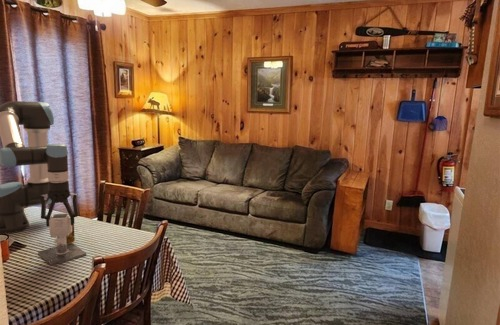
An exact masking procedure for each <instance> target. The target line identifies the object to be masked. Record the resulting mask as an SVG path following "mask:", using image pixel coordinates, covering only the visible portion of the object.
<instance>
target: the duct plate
mask: <svg viewBox="0 0 500 325" xmlns="http://www.w3.org/2000/svg"><path fill="white" fill-rule="evenodd" d="M56 239H57V246H56V247H51V248H47V249H44V250H38V252H37V255H39V256H40V258H42V259H43V260H44V261H45V262H46V263H47V264H48V265H49V266H51V267H52V266H54V265H59V264H61V263H66V262H69V261H71V260H74V259H78V258H82V257H85V256H87V253H86V252H85V251H84V250H83V249H81V248H80V247H78V245H76V244H75V243H70V244H67V243H66V236H63V237H56Z"/></svg>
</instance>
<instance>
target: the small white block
mask: <svg viewBox="0 0 500 325" xmlns="http://www.w3.org/2000/svg"><path fill="white" fill-rule="evenodd" d="M69 217H70V216H69V214H68V212H67V213H65V212H64V213H52V214H51V217H50V230H49V235H50V238H57V237H63V236H69V234H70V233H69Z"/></svg>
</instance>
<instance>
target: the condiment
mask: <svg viewBox="0 0 500 325" xmlns="http://www.w3.org/2000/svg"><path fill="white" fill-rule="evenodd" d="M75 234H76V233H75V224H74V225H72V233H70V234H69V236H66V243H67V244H70V243H73V244H75V243H77V241H76V237H75ZM54 243H55V246H56V247H57V238H56V239H54Z"/></svg>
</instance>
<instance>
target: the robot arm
mask: <svg viewBox="0 0 500 325" xmlns="http://www.w3.org/2000/svg"><path fill="white" fill-rule="evenodd" d="M54 120H55V118H54V113H53V110H52V107H51V105H50V104H49V103H48V102H45V101H44V102H43V101H22V100H19V101H18V100H12V101H6V102H4V103H2V104H0V140H1V144H2V147H1V148H0V165H1V166H3V167H19V166H28V167H29V178H28V179H27V180H26V184H23V182H21V181H11V182H6V183H1V184H0V234H1V235H2V234H4V235H5V234H13V233H17V232H21V231H24V230H26V229H28V228H29V227H30V222H29V221H30V220H29V219H28V217H27V215H26V214H25V208H27V207H28V208H29V207H34V206H41V207H40V219H41V220H46V221H45V222H46V223H45V224H46V228H49V231H50V218H51V217H52V215H53V210H54V208H55V206H56V204H58V203H62V204H63V205H64V207H65V210H66V211H67V213H68V214H69V216H70V217H69V233H72V225H74V226H75V218H77V217H78V216H79V215H80V212H79V207H78V206H79V205H78V193H71V191H70V181H69V179H70V178H69V177H70V176H69V159H68V158H69V157H68V154H69V152H68V146H67V145H66V144H65V143H50V144H48V131H49V130H51V126H54ZM19 126H23V129H24V130H25V131H26V132H27V146H26V144H25V142H24V139H23V136H22V133H21V129H20V127H19ZM68 198H71V200H72V206H73V208H72V206H71V204H70V203H69V200H68ZM49 204H50V206H49V209H48V212H47V205H49ZM46 212H47V214H46Z"/></svg>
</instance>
